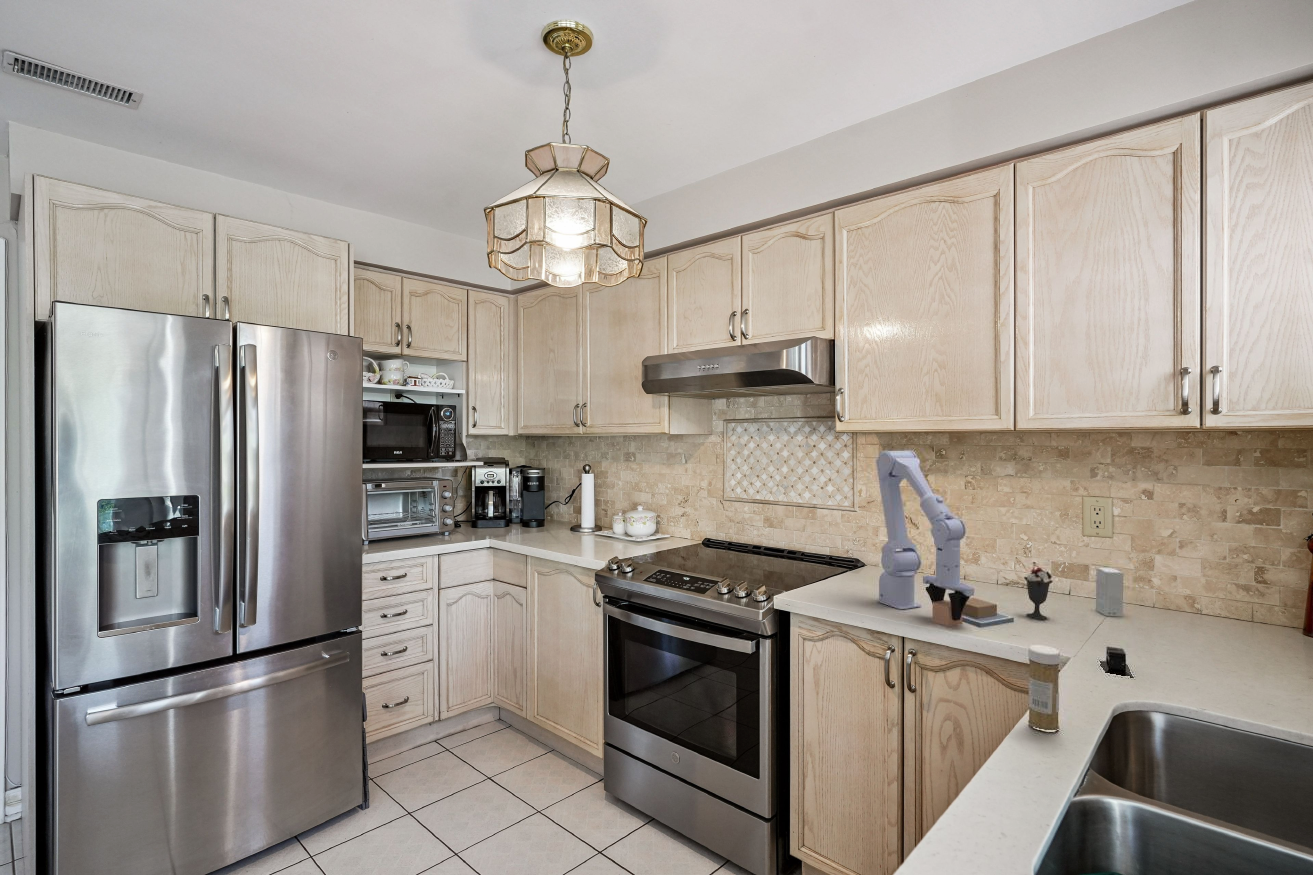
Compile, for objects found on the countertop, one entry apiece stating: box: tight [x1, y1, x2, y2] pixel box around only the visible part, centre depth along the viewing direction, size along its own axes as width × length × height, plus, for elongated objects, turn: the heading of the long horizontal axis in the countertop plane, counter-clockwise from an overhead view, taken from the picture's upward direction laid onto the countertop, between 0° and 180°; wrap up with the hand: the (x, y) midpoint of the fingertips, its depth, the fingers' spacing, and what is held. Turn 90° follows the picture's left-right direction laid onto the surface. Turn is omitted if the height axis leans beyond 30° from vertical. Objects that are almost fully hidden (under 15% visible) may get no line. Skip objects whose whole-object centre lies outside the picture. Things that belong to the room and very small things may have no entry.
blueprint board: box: [962, 597, 1015, 628], centre depth 169 cm, size 13×12×4 cm
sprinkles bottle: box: [1027, 644, 1061, 730], centre depth 107 cm, size 5×5×14 cm
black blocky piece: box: [1098, 646, 1135, 678], centre depth 133 cm, size 12×7×5 cm, turn 151°
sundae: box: [1023, 561, 1053, 621], centre depth 169 cm, size 7×7×15 cm
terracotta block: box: [931, 599, 963, 627], centre depth 165 cm, size 5×5×5 cm
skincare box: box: [1095, 567, 1124, 618], centre depth 173 cm, size 6×4×12 cm
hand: (947, 616), depth 165 cm, fingers closed on terracotta block, 5 cm apart
